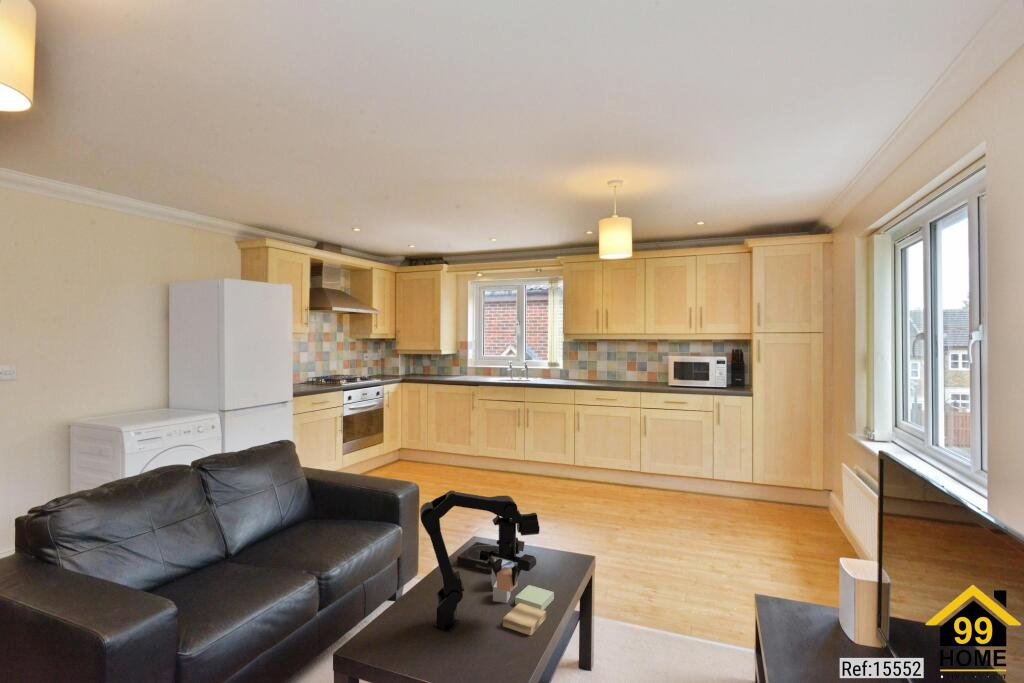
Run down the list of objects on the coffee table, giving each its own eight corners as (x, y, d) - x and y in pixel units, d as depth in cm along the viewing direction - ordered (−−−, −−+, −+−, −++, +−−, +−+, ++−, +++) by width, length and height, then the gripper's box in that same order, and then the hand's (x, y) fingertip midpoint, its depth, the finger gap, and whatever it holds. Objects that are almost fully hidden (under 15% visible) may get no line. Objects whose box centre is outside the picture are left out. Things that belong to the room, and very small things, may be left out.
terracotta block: (510, 592, 162) (510, 576, 162) (496, 588, 164) (496, 573, 164) (517, 585, 166) (517, 570, 166) (504, 581, 168) (504, 566, 168)
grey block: (506, 603, 174) (506, 589, 174) (492, 601, 176) (493, 587, 176) (510, 596, 179) (510, 582, 179) (496, 594, 181) (497, 580, 180)
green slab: (541, 612, 169) (541, 605, 169) (515, 604, 174) (515, 597, 174) (553, 599, 177) (553, 592, 177) (528, 591, 182) (528, 584, 182)
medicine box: (500, 590, 183) (500, 566, 183) (491, 586, 186) (491, 563, 186) (513, 582, 190) (513, 559, 190) (504, 578, 192) (504, 555, 192)
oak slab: (530, 635, 156) (530, 627, 155) (502, 626, 160) (502, 618, 160) (546, 618, 165) (546, 611, 165) (519, 610, 170) (519, 602, 170)
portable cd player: (511, 557, 211) (511, 548, 211) (493, 575, 196) (493, 564, 196) (477, 550, 218) (477, 541, 218) (457, 566, 203) (457, 556, 203)
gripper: (543, 533, 167) (543, 579, 168) (495, 523, 176) (495, 567, 177) (528, 545, 158) (528, 595, 158) (478, 534, 167) (478, 581, 167)
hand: (507, 583), depth 165 cm, fingers closed on terracotta block, 5 cm apart
